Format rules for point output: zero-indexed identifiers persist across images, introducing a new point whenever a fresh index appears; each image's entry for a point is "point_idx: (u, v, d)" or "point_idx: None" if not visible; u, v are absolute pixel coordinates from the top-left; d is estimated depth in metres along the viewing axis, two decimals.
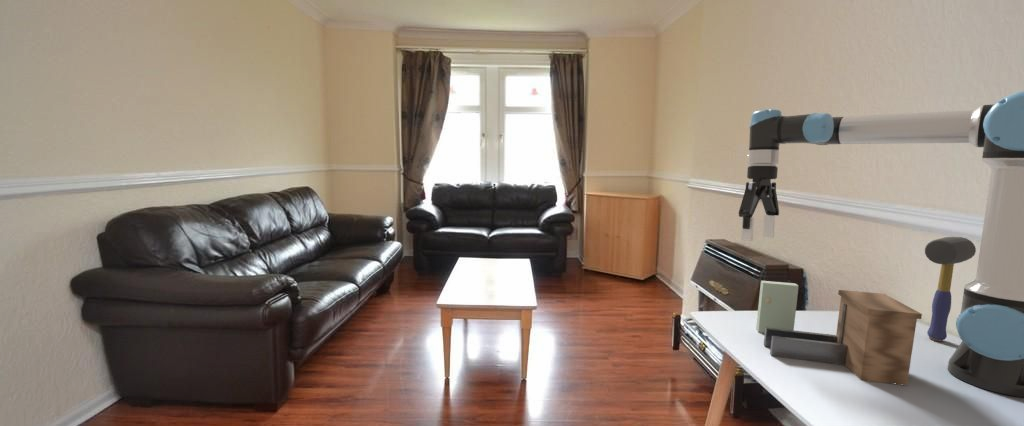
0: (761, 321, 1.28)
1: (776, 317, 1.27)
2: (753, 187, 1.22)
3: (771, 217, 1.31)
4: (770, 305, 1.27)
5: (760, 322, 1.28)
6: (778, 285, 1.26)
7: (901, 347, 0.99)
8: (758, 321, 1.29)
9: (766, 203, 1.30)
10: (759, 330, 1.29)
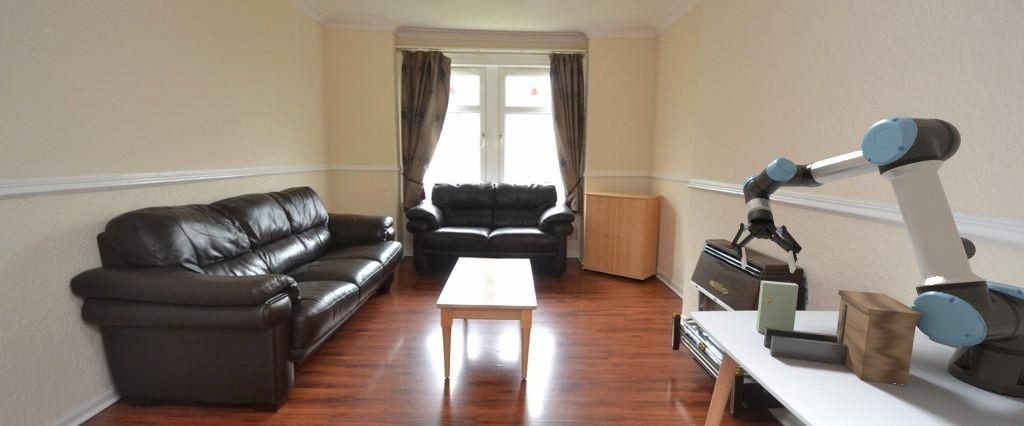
0: (761, 321, 1.28)
1: (776, 317, 1.27)
2: (739, 226, 1.46)
3: (789, 253, 1.38)
4: (770, 305, 1.27)
5: (760, 322, 1.28)
6: (778, 285, 1.26)
7: (901, 347, 0.99)
8: (758, 321, 1.29)
9: (779, 243, 1.41)
10: (759, 330, 1.29)
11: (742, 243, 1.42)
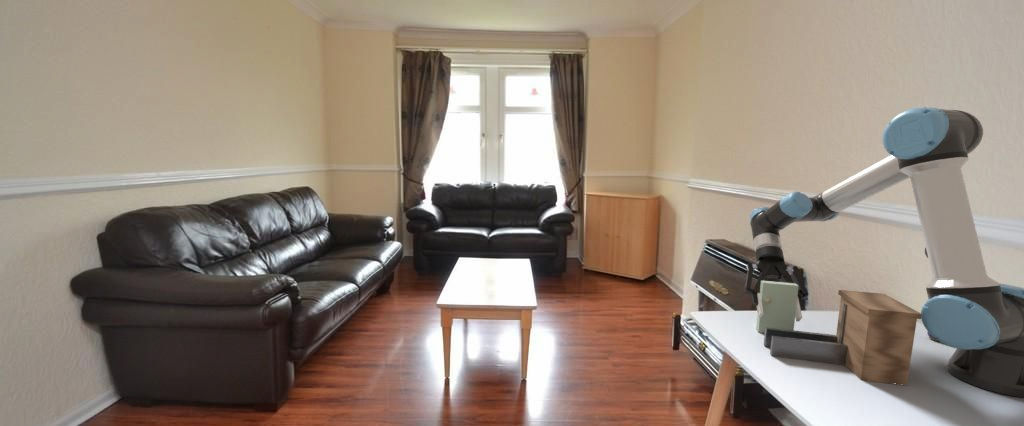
0: (761, 321, 1.28)
1: (776, 317, 1.27)
2: (748, 267, 1.35)
3: None
4: (770, 304, 1.27)
5: (760, 322, 1.28)
6: (778, 285, 1.26)
7: (901, 347, 0.99)
8: (758, 321, 1.29)
9: None
10: (759, 330, 1.29)
11: (757, 287, 1.30)
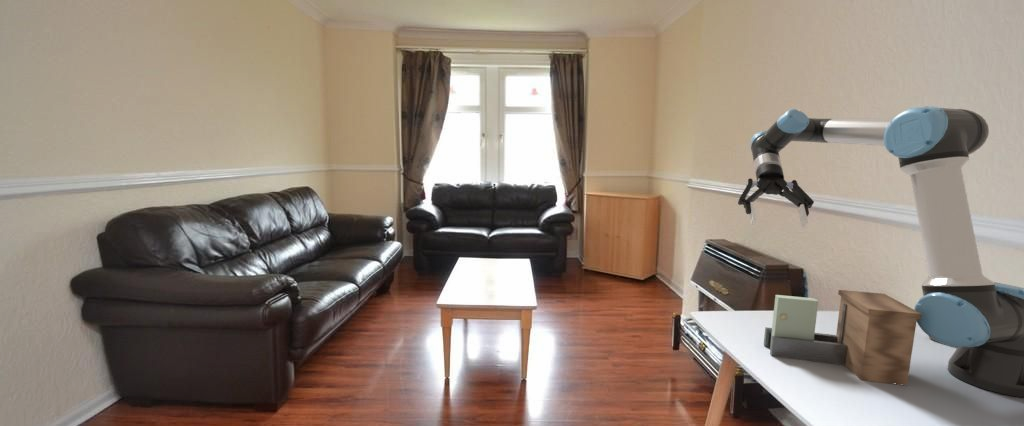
0: None
1: (793, 335, 1.14)
2: (748, 182, 1.40)
3: (800, 207, 1.31)
4: (786, 322, 1.14)
5: None
6: (795, 300, 1.12)
7: (901, 347, 0.99)
8: None
9: (789, 197, 1.35)
10: None
11: (751, 198, 1.35)
